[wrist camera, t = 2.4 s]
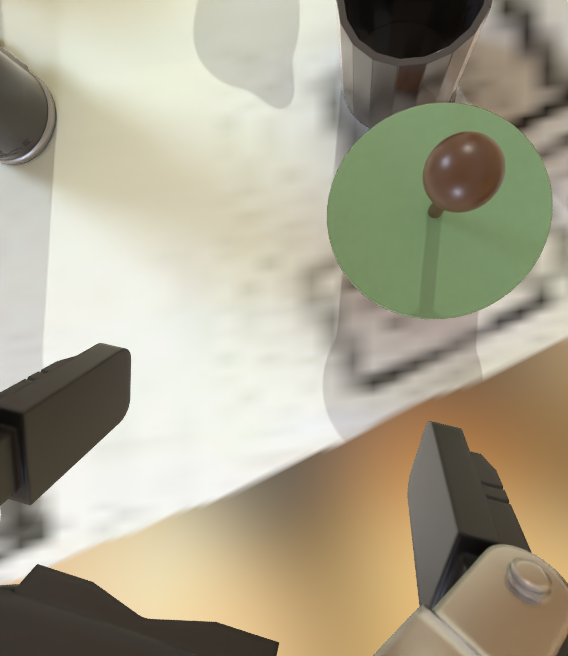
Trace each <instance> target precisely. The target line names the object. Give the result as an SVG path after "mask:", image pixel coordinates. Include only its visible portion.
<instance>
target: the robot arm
mask: <svg viewBox="0 0 568 656" xmlns="http://www.w3.org/2000/svg"><path fill="white" fill-rule="evenodd" d="M54 125H55V105H54V101H53V98H52V96H51V94H50V92H49V90H48V88H47V87H46V86H45V84H44V83H43V82H42V81H40V80H39V79H38V78H37V77H35V76H34V75H33V74H31V73H30V72H29V70H28V67H27V66H26V65H25V64H23V63H22V62H21V61H19V60H18V59H17V58H15V57H14V56H13V55H12V54H10V53H9V52H8V51H6V50H5V49H4V48H2V47H1V46H0V162H1V163H4V164H10V165H15V164H22V163H25V162H27V161H30V160H31V159H33V158H35V157H36V156H37V155H38V154H39V153H40V152H41V151H42V150H43V149H44V148H45V147H46V145H47V144H48V142H49V140H50V138H51V136H52V133H53V130H54ZM130 381H131V355H130V352H129V350H128V349H125V348H120V347H116V346H112V345H108V344H104V343H99V344H97V345H95V346H93V347H91V348H90V349H88V350H86V351H84V352H83V353H81V354H79V355H77V356H74V357H70V358H67V359H63V360H60V361H57V362H55V363H53V364H51V365H49V366H48V367H46V368H44V369H42V370H41V372H37V373H35V374H33V375H31V376H29V377H28V379H27V380H26V379H24V380H22V381H20V382H18V383H17V384H15V385H13V386H11V387H9V388H8V389H6V390H4V391H2V392H0V505H2V504H3V503H4V502H5V501H6V500H7V499H11V500H14V501H18V502H21V503H24V504H28V505H32V504H33V503H34V502H35V501H36V500H37V499H38V498H39V497H40V496H41V495H42V494H43V493H44V492H46V491H47V490H48V489H49V488H50V487H51V486H52V485H53V484H54V483H55V482H56V481H57V480H58V479H60V478H61V477H62V476H63V475H64V474H65V473H66V472H67V471H68V470H69V469H70V468H71V467H72V466H74V465H75V464H76V463H77V462H78V461H79V460H80V459H81V458H82V457H83V456H84V455H85V454H86V453H88V452H89V451H90V450H91V449H92V448H93V447H94V446H95V445H96V444H97V443H98V442H99V441H100V440H102V439H103V438H104V437H105V436H106V435H107V434H108V433H109V432H110V431H111V430H112V429H113V428H114V427H116V426H117V425H118V424H119V423H120V422H121V421H122V419H123V418H124V416H125V415H126V413H127V410H128V407H129V403H130ZM408 505H409V514H410V523H411V532H412V541H413V550H414V560H415V569H416V578H417V587H418V596H419V605H420V607H419V608H418V609H417V610H416V611H415V612H414V613H413V614H412V615H411V616H410V617H409V618H408V619H407V620H406V621H405V622H404V623H403V624H402V625H401V627H400V628H399V629H398V630H397V631H396V632H395V633H394V634H393V635H392V636H391V637H390V638H389V639H388V640H387V641H386V642H385V644H383V646H382V647H381V648H380V649H379V650H378V651H377V652H376V653H375V654H374V655H373V656H568V583H567V582H566V581H565V580H564V579H563V577H562V576H561V575H560V574H559V573H558V572H557V571H556V570H555V569H553V568H552V567H551V566H550V565H549V564H548V563H546V562H545V561H544V560H542V559H541V558H539V557H537V556H536V555H534V554H532V553H531V550H530V548H529V546H528V543H527V541H526V539H525V536H524V534H523V532H522V530H521V527H520V525H519V522H518V520H517V518H516V515H515V513H514V511H513V509H512V506H511V505H510V504H509V499H508V497H507V495H506V492H505V490H503V485H502V483H501V481H500V478H499V476H498V474H497V472H496V470H495V469H494V468H493V467H492V466H491V465H490V463H489V462H488V461H487V460H486V459H485V458H484V457H483V456H482V455H481V454H478V453H474V452H470V451H469V448H468V445H467V442H466V440H465V437H464V434H463V431H462V429H461V428H457V427H453V426H448V425H444V424H440V423H436V422H431V421H429V422H428V423H427V425H426V427H425V429H424V432H423V435H422V439H421V442H420V445H419V448H418V451H417V454H416V457H415V460H414V464H413V467H412V470H411V474H410V478H409V484H408ZM0 519H1V511H0ZM278 646H279V642H276V641H273V640H270V639H267V638H264V637H260V636H257V635H254V634H251V633H248V632H245V631H242V630H239V629H236V628H233V627H230V626H226V625H224V624H220V623H217V622H204V621H182V620H160V619H159V620H158V619H147V618H144V617H141V616H140V615H138V614H136V613H135V612H134V611H132V610H131V609H129V608H128V607H127V606H125V605H124V604H123V603H121V602H120V601H118V600H117V599H116V598H114V597H113V596H111V595H110V594H109V593H107V592H106V591H105V590H103V589H102V588H100V587H99V586H97V585H96V584H95V583H93V582H91V581H88V580H85V579H81V578H79V577H76V576H73V575H69V574H66V573H63V572H60V571H57V570H54V569H51V568H48V567H45V566H42V565H39V564H37V565H36V566H35V567H34V568H33V569H32V571H31V572H30V573H29V574H28V575H27V576H26V577H25V578H24V580H23V581H22V582H21V583H20V584H13V585H0V656H276V655H277V651H278Z"/></svg>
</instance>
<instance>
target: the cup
mask: <svg viewBox="0 0 568 656" xmlns="http://www.w3.org/2000/svg"><path fill="white" fill-rule="evenodd" d="M492 1H493V0H336V4H337V20H338V36H339V52H340V69H341V81H342V89H343V95H344V98H345V101H346V104H347V106H348V108H349V109H350V111H351V113H352V114H353V115H354V116H355V117H356V118H357V119H358V120H359V121H360V122H361V123H362V124H364V125H365V126H367V127H369V128H372V127H374V126H375V125H377V124H378V123H380V122H381V121H383V120H384V119H386V118H388V117H390V116H392V115H394V114H396V113H398V112H400V111H403V110H406V109H409V108H412V107H416V106H420V105H425V104H432V103H448V102H449V100H450V99H451V97H452V94H453V93H454V91H455V89H456V87H457V85H458V83H459V80H460V78H461V76H462V73H463V71H464V69H465V66H466V64H467V62H468V59H469V57H470V55H471V52H472V50H473V48H474V45H475V43H476V41H477V38H478V36H479V34H480V32H481V29H482V27H483V25H484V22H485V20H486V18H487V15H488V13H489V11H490V8H491V5H492Z"/></svg>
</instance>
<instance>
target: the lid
mask: <svg viewBox="0 0 568 656" xmlns="http://www.w3.org/2000/svg"><path fill="white" fill-rule="evenodd" d="M551 219H552V192H551V185H550V181H549V177H548V174H547V171H546V168H545V166H544V164H543V161H542V159H541V157H540V155H539V154H538V152H537V151H536V149H535V148H534V146H533V145H532V143H531V142H530V141H529V140H528V139H527V138H526V136H525V135H524V134H523V133H522V132H521V131H519V130H518V129H517V128H516V127H515V126H514V125H512V124H511V123H510V122H508V121H506V120H505V119H503V118H502V117H500V116H498V115H496V114H494V113H492V112H490V111H487V110H485V109H482V108H478V107H475V106H472V105H466V104H460V103H432V104H425V105H420V106H416V107H412V108H409V109H406V110H403V111H400V112H398V113H396V114H394V115H392V116H390V117H388V118H386V119H384V120H383V121H381V122H380V123H378V124H377V125H375V126H374V127H372V128H371V129H370V130H369V131H368V132H366V133H365V134H364V135H363V136H362V137H361V138H360V139H359V140H358V141H357V142H356V143H355V144H354V145H353V147H352V148H351V149H350V151H349V152H348V153H347V155H346V156H345V158H344V159H343V161H342V163H341V165H340V166H339V168H338V170H337V173H336V175H335V178H334V180H333V183H332V186H331V190H330V194H329V199H328V206H327V227H328V234H329V239H330V243H331V246H332V250H333V253H334V255H335V257H336V260H337V262H338V264H339V266H340V267H341V269H342V271H343V272H344V274H345V275H346V277H347V278H348V279H349V281H350V282H351V283H352V284H353V285H354V286H355V287H356V288H357V289H358V290H359V291H360V292H361V293H362V294H363V295H364V296H366V297H367V298H368V299H370V300H371V301H372V302H374V303H376V304H378V305H379V306H381V307H383V308H385V309H387V310H390V311H392V312H395V313H397V314H401V315H405V316H409V317H413V318H421V319H445V318H453V317H459V316H463V315H466V314H470V313H473V312H476V311H478V310H481V309H483V308H486V307H487V306H489V305H491V304H493V303H495V302H496V301H498V300H500V299H501V298H502V297H504V296H505V295H507V294H508V293H509V292H511V291H512V290H513V289H514V288H515V287H516V286H517V285H518V284H519V283H520V282H521V281H522V280H523V279H524V278H525V277H526V275H527V274H528V273H529V272H530V271H531V269H532V268H533V266H534V265H535V263H536V261H537V260H538V258H539V257H540V254H541V252H542V250H543V248H544V245H545V243H546V240H547V237H548V233H549V230H550V225H551Z"/></svg>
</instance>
